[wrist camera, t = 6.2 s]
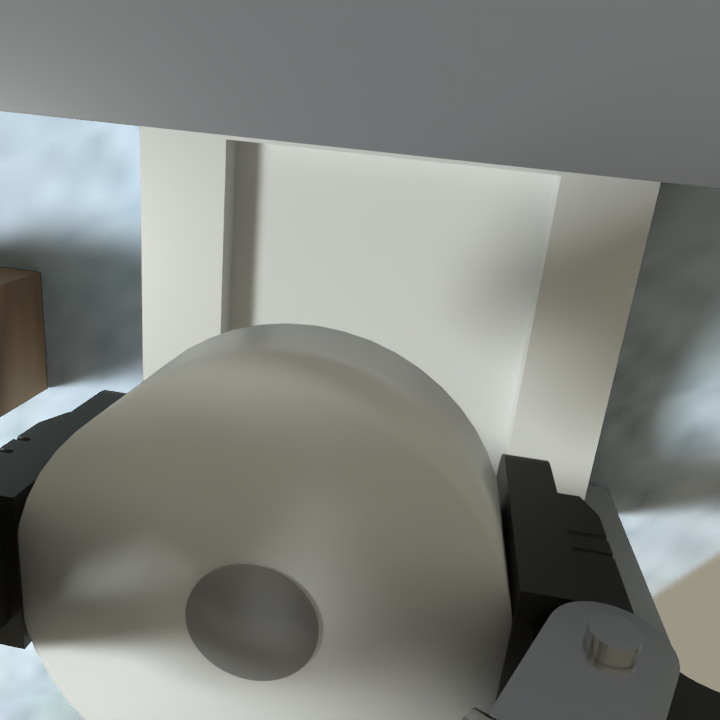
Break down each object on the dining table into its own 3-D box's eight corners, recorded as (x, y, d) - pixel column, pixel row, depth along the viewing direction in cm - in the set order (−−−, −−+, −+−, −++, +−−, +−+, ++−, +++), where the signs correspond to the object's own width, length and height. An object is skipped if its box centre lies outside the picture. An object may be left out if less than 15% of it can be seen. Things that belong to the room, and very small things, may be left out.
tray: (135, -134, 17) (-65, -298, 10) (754, -94, 15) (962, -259, 9) (142, 454, 22) (15, 580, 16) (597, 528, 21) (655, 701, 14)
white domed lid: (109, 295, 9) (-7, 346, 7) (537, 356, 9) (563, 433, 6) (116, 637, 11) (26, 762, 9) (467, 706, 11) (468, 862, 8)
